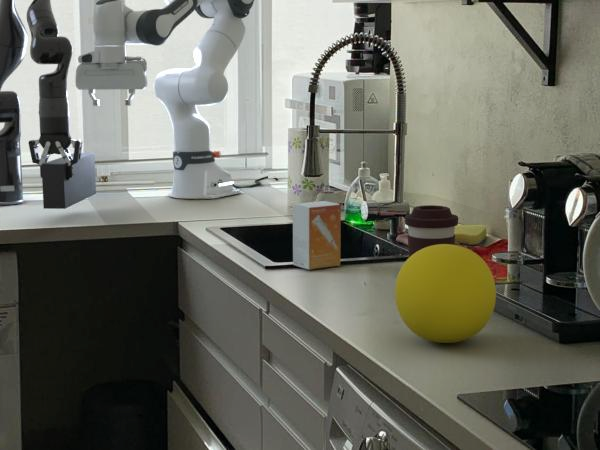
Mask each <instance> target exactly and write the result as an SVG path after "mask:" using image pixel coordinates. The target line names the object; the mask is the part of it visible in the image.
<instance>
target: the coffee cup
mask: <svg viewBox="0 0 600 450" xmlns="http://www.w3.org/2000/svg"><path fill="white" fill-rule="evenodd" d="M404 225H406V226H407V227H408V228H407V230H408V233H407V251H408V253H407V254H408V258H409V257H410V256H412V255H413V254H414V253H416V252H417V251H419V250H421V249H423V248H425V247H429V246H432V245H438V244H452V245H456V243H455V242H456V235H455V229H456V228H455V227H456V226H458V225H459V216H458V215H456V214H453V213H452V211H451V208H450V207H448V206H444V205H437V204H436V205H434V204H433V205H431V204H429V205H426V204H425V205H418V206H414V207H413V208H412V210H411V213H408V214H406V215H405V216H404Z"/></svg>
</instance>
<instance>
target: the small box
mask: <svg viewBox="0 0 600 450" xmlns="http://www.w3.org/2000/svg"><path fill="white" fill-rule="evenodd" d="M341 207H342V206H341V204H340V203H337V202H336V203H335V202H331V201H328V200H320V201H310V202H309V201H307V202H302V203H293V204H292V265H293V266H294V267H295V266H296V267H298V268H301V269H306V270H309V271H310V270H315V269H323V268H332V267H340V266H341V247H342V245H341V239H342V237H341V236H342V235H341V234H342V233H341V229H342V228H341V227H342V226H341V225H342V224H341V221H342V216H341V215H342V214H341V213H342V209H341Z"/></svg>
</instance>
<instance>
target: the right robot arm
mask: <svg viewBox="0 0 600 450" xmlns="http://www.w3.org/2000/svg"><path fill="white" fill-rule="evenodd" d="M254 2H255V0H164V3H165V4H166V5H165V6H164V7H163V8H154V9H147V10H145V9H144V10H134V9H132V8H130V7H129V6H127V5H126V4H125V3H124V2H123V0H97V2H95V4H94V6H93V13H92V14H93V16H92V26H93V29H92V30H93V34H94V44H93V48H94V49H93V51H92V50H91V51H89V52H86V53H84V54H80V55H78V57H77V62H78V63H79V64H78V65H77V67H76V69H75V88H77V90H79V91H82V90H83V91H84V90H85V91H88V95H89V97H90V98H91V100H92V106H93V107H99V106H100V105H101V104H100V101H101V100H100V99H97V97H96V95H95V94H96V90H98V91H99V90H101V91H102V90H104V91H105V90H108V91H109V90H128V94H129V96H128V98H126V99H125V100H124V101H125V102H124V104H125V105H124V106H126V107H129V106H133V98H134V97H135V94H136V90H146V88H147V87H148V77H147V72H146V71H147V69H148V62H147V60H146V59H145V58H144V57H142V56H130V55H129V56H127V46H131V45H132V46H134V45H136V46H143V45H145V46H155V47H157V46H162V45H163V44H165V43H166V42H167V41H168V40H169V38H170V37H171V35H172V33H173V31H174V30H175V29H176V28H177V27H178V26H179V25H180V24H182V23H183V21H185V20H186V19H187V18H188V17H189V16H190V15H191V14H193V12H196V14H197V16H199V17H201V18H203V19H213V21H212V24H211V26H210V27H209V29H208V30H207V31H206V32H205V34H204V35H203V36H202V38H201V40H200V41H199V42H198V44H197V45H196V47H195V48H194V50H193V59H194V62H195V64H196V65H194V66H193V67H192V68H172V69H167V70H163V71H161V72H159V73H158V74H157V75H156V77H155V79H154V82H153V91H154V94H155V97H156V98H157V100H159V101H160V102H161V103H162V104H163V106H164V107H165V109H166V111H167V113H168V115H169V118H170V122H171V125H172V130H173V131H172V133H173V135H172V136H173V150H172V164H173V180H172V185H171V191H170V194H169V196H170V197H171V198H175V199H186V200H192V199H195V200H197V199H198V200H199V199H208V200H209V199H211V200H212V199H217V198H223V197H227V196H232V195H233V196H234V195H238V194H241V190H240V189H247V188H255V187H258V186H260V185H261V182H262V181H263V180H267V179H269V178H268V176H269V175H266V176H264V177H260V178H258V179H255V180H254V183H253V184H250V185H246V186H239V185H235V181H233V178H232V175H231V173H230V172H229V171H227V170H226V169H225V168H223V167H222V166H221V165H219V163H217V162H216V159H215V158H218V159H219V158H221V156H222V153H221V151H220V150H214V151H212V150H211V130H210V124H209V123H208V121H207V120H205V119H204V118H203V117H202V116H201V114H200V112H199V111H198V108H197V106H202V107H203V106H205V107H206V106H207V107H208V106H213V105H216V104H220V103H223V101H225V100H226V97H227V96H228V92H229V83H228V80H227V77H226V76H225V71H226V69H227V67H228V65H229V64H230V62H231V61H232V59H233V58H234V56H235V55H236V53H237V51H238V50H239V48H240V46H241V44H242V41H243V40H244V37H245V34H246V26H245V24H244V22H243V19H245V18H247V17H249V15H250V12H251V11H250V10H251V9H252V7H253V5H254ZM272 179H273V180H275V181H279V179H278V178H277V177H276V178H272Z"/></svg>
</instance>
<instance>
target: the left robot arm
mask: <svg viewBox="0 0 600 450" xmlns="http://www.w3.org/2000/svg"><path fill="white" fill-rule="evenodd" d="M26 22H27V25H28V29H29V31H30V37H31V39H30V40H31V41H30V47H29V55H30V58H31V60H32V61H33V62H34V63H36V64H37V65H57V66H56V68H55V70H54V71H52V72H49V73H48V72H47V73H44V74H41V75H40V76H39V77H38V95H39V99H38V116H39V120H38V121H39V134H40V136H39V138H38V139H31V140H29V141H28V148H29V152H30V157H31V162H32V164H36V165H38V166H39V173H40V174H39V175H40V176H39V177H40V178H41V179H42V165H41V164H43V163H46V162H49V158H50V156H51V155H54V154H55V155H61V157H63V158H64V160H65V162H66V164H67V166H66V175H67V180H71V179H72V177H73V176H74V172H73V171H74V170H73V165H74V164H75V163H78V162H80V159H81V153H82V151H83V150H82V149H83V139H72V136H71V128H70V127H71V125H70V106H69V98H68V73H69V68H70V64H71V61H72V57H73V45H72V42H71V41H70V39H69V38H68V37H67V36H60V35H59V27H58V24H57V20H56V18H55V16H54V11H53V7H52V1H51V0H32V1H31V3H30V5H29V6H28V7H27V11H26ZM28 39H29V36H28V32H27V29H26V27H25V24H24V23H23V21H22V19H21V17H20V15H19V13H18V10H17V7H16V5H15V0H0V123H1V124H4V125H3V127H2V128H1V129H0V206H11V205H21V204H23V203H24V202H25V201H24V187H23V170H22V169H23V168H22V167H23V166H22V151H21V136H22V135H21V134H22V127H21V125H22V124H21V122H22V121H21V119H22V117H21V116H22V111H21V109H22V107H21V100H20V97H19V95H18V93H17V92H16V91H14V90H2V87H3V85H4V83H6V81H7V79H8V78H10V76H11V75H12V74H13V73H14V72H15V71H16V70H17V68H19V66H20V65H21V63H22V62H23V60H24V58H25V56H26V50H27V45H28ZM39 146H40V147H42V149H43V151H42V152H41V156H40V154H39V150H38V148H39ZM70 146H72V148H73V153H74V157H73V159H72V157H71V154H72V153H71V152H70V150H69V147H70Z"/></svg>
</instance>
